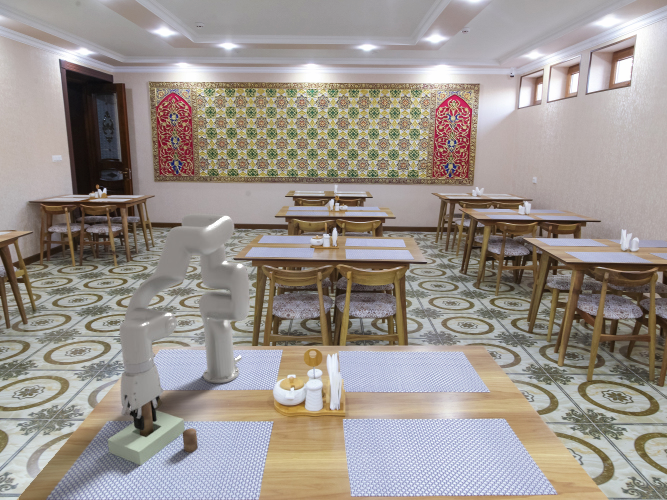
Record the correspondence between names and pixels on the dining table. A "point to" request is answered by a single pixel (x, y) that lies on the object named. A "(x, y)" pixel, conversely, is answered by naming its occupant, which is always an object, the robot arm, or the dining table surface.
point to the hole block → (146, 439)
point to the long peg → (147, 420)
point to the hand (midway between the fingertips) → (145, 423)
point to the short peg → (190, 440)
